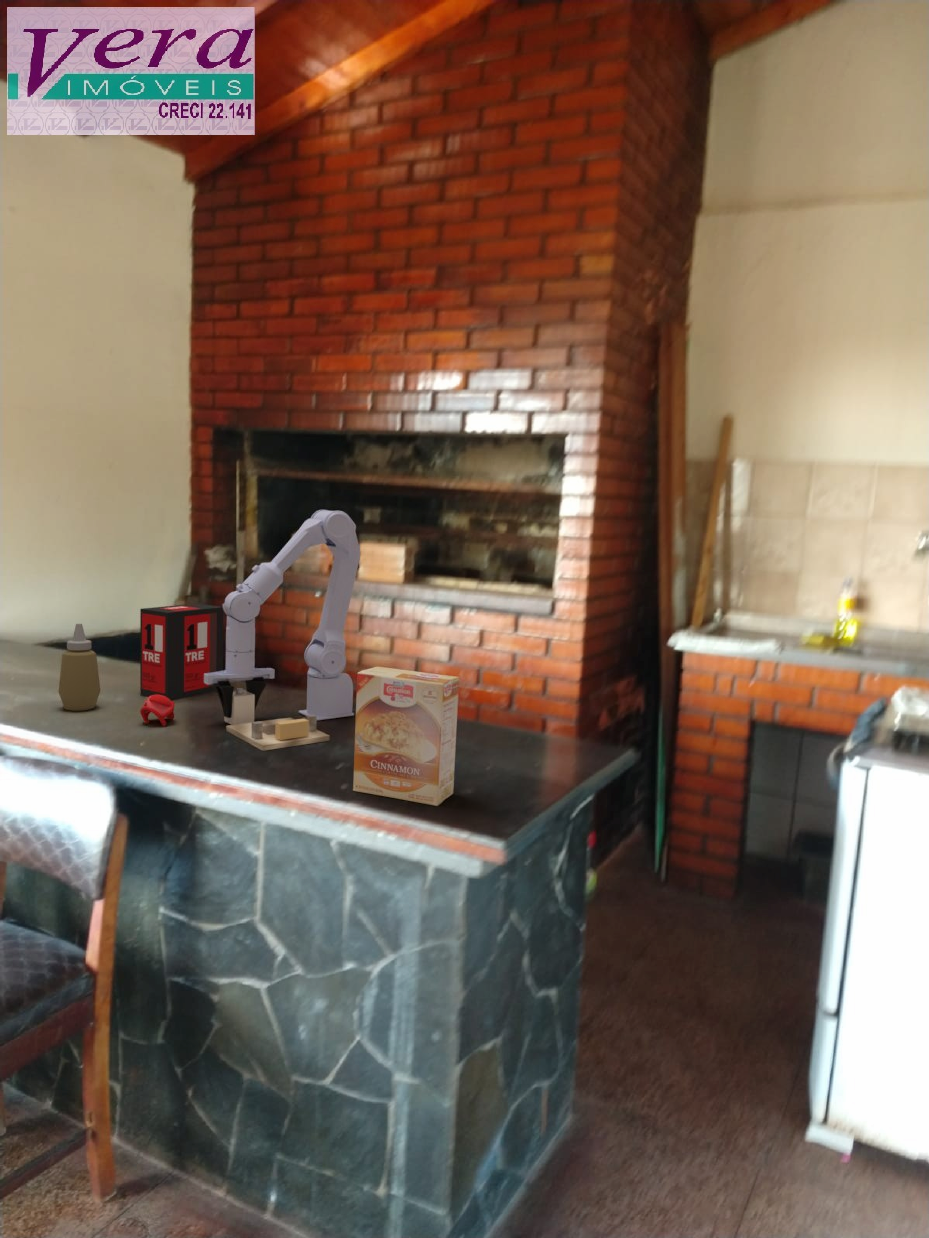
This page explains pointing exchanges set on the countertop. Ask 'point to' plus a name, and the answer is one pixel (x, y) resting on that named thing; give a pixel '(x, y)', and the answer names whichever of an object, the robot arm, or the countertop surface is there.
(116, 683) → the countertop surface
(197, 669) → the cleaning product box
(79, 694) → the squeeze bottle
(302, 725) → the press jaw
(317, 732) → the press bed
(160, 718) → the red toy chair
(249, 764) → the countertop surface
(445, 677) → the coffeecake box
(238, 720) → the block
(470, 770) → the countertop surface
